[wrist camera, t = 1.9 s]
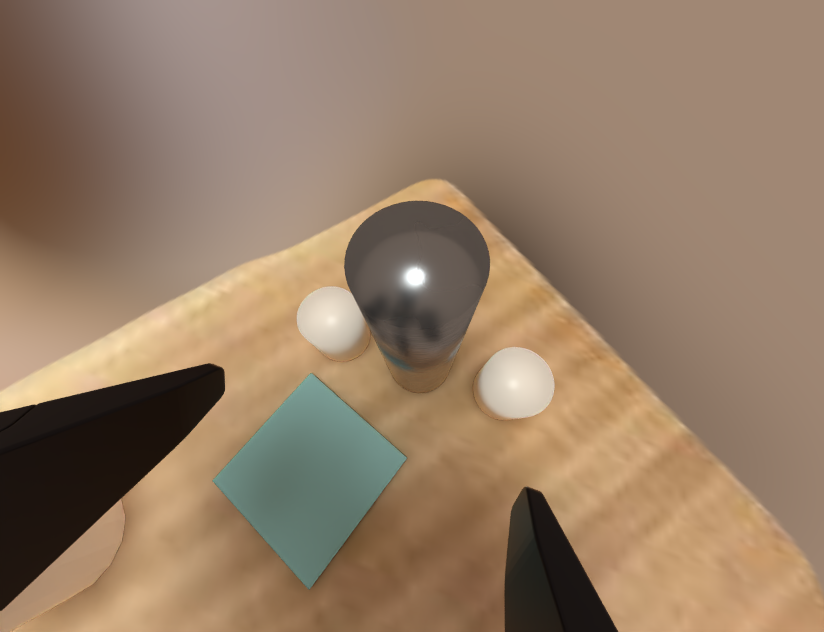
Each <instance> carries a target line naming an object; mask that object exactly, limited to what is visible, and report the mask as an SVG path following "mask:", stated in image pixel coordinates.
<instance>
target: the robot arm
mask: <svg viewBox="0 0 824 632" xmlns="http://www.w3.org/2000/svg"><path fill="white" fill-rule="evenodd" d="M224 392H225V374H224V369H223V368H222V367H220V366H217V365H214V364H211V363H208V364H204V365H199V366H195V367H191V368H187V369H183V370H178V371H174V372H170V373H166V374H161V375H157V376H153V377H149V378H144V379H140V380H136V381H132V382H127V383H123V384H119V385H115V386H111V387H106V388H102V389H98V390H94V391H89V392H85V393H81V394H77V395H72V396H68V397H64V398H60V399H55V400H51V401H47V402H43V403H39V404H37V405H30V406H26V407H21V408H17V409H13V410H9V411H4V412H0V611H2V610H3V609H4V608H6V607H7V606H8V605H9V604H10V603H11V602H12V601H13V600H14V599H15V598H16V597H17V596H18V595H19V594H20V593H21V592H22V591H24V590H25V589H26V588H27V587H28V586H29V585H30V584H31V583H32V582H33V581H34V580H35V579H36V578H37V577H38V576H39V575H41V574H42V573H43V572H44V571H45V570H46V569H47V568H48V567H49V566H50V565H51V564H52V563H53V562H54V561H55V560H56V559H58V558H59V557H60V556H61V555H62V554H63V553H64V552H65V551H66V550H67V549H68V548H69V547H70V546H71V545H72V544H73V543H74V542H76V541H77V540H78V539H79V538H80V537H81V536H82V535H83V534H84V533H85V532H86V531H87V530H88V529H89V528H90V527H91V526H93V525H94V524H95V523H96V522H97V521H98V520H99V519H100V518H101V517H102V516H103V515H104V514H105V513H106V512H107V511H108V510H110V509H111V508H112V507H113V506H114V505H115V504H116V503H117V502H118V501H119V500H120V499H121V498H122V497H123V496H124V495H125V494H126V493H128V492H129V491H130V490H131V489H132V488H133V487H134V486H135V485H136V484H137V483H138V482H139V481H140V480H141V479H142V478H143V477H145V476H146V475H147V474H148V473H149V472H150V471H151V470H152V469H153V468H154V467H155V466H156V465H157V464H158V463H159V462H160V461H161V460H163V459H164V458H165V457H166V456H167V455H168V454H169V453H170V452H171V451H172V450H173V449H174V448H175V447H176V446H177V445H178V444H179V443H180V442H181V441H182V440H183V439H184V438H185V437H186V436H187V435H188V434H189V433H190V432H191V431H192V430H193V429H194V428H195V426H196V425H197V424H198V423H199V422H200V421H201V420H202V419H203V417H204V416H205V415H206V414H207V413H208V412H209V411H210V410H211V408H212V407H213V406H214V405H215V404H216V403H217V402H218V401H219V399H220V398H221V397H222V396H223V394H224ZM505 632H618V630H617V629H616V627H615V625H614V623H613V621H612V619H611V618H610V616H609V614H608V612H607V610H606V608H605V607H604V605H603V603H602V601H601V599H600V598H599V596H598V594H597V592H596V590H595V588H594V587H593V585H592V583H591V581H590V579H589V577H588V576H587V574H586V572H585V570H584V568H583V567H582V565H581V563H580V561H579V559H578V557H577V556H576V554H575V552H574V550H573V548H572V546H571V545H570V543H569V541H568V539H567V537H566V536H565V534H564V532H563V530H562V528H561V526H560V525H559V523H558V521H557V519H556V517H555V515H554V514H553V512H552V510H551V508H550V506H549V505H548V503H547V501H546V499H545V497H544V495H543V494H542V493H541V492H540V491H538V490H535V489H533V488H530V487H524V488H523V489H522V491H521V492H520V494H519V496H518V498H517V499H516V501H515V503H514V505H513V507H512V510H511V516H510V527H509V538H508V548H507V559H506V569H505Z"/></svg>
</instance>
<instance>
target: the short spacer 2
mask: <svg viewBox="0 0 824 632" xmlns="http://www.w3.org/2000/svg"><path fill="white" fill-rule="evenodd" d="M473 394H474V398H475V401H476V403H477V404H478V406H479V407H480V409H481V410H482V411H483V412H484V413H485V414H487V415H488V416H490V417H492V418H494V419H498V420H512V419H518V418H525V417H530V416H534V415H536V414H538V413H540V412H542V411H543V410H544V409H545V408H546V407H547V406H548V405H549V403H550V401H551V399H552V397H553V394H554V378H553V375H552V372H551V370H550V368H549V366H548V365H547V363H546V362H545V361H544V360H543V359H542V358H541V357H540V356H539V355H538V354H536V353H534V352H533V351H531V350H528V349H525V348H521V347H509V348H505V349H502V350H500V351H498V352H497V353H495V354H494V355H493V356H492V357H491V358H490V359H489V360H488V362H487V363H486V364H485V365H484V366H483V368H482V369H481V370H480V371H479V372H478V374H477V375H476V377H475V380H474V383H473Z"/></svg>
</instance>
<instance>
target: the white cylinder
mask: <svg viewBox="0 0 824 632" xmlns="http://www.w3.org/2000/svg"><path fill="white" fill-rule="evenodd" d="M125 519H126V518H125V513H124V509H123V505H122V500H121V499H120V500H119V501H118V502H117V503H116V504H115V505H114V506H113V507H112V508H111V509H110V510H108V511H107V512H106V513H105V514H104V515H103V516H102V517H101V518H100V519H99V520H98V521H97V522H96V523H95V524H94V525H93V526H91V527H90V528H89V529H88V530H87V531H86V532H85V533H84V534H83V535H82V536H81V537H80V538H79V539H78V540H77V541H76V542H74V543H73V544H72V545H71V546H70V547H69V548H68V549H67V550H66V551H65V552H64V553H63V554H62V555H61V556H60V557H59V558H58V559H56V560H55V561H54V562H53V563H52V564H51V565H50V566H49V567H48V568H47V569H46V570H45V571H44V572H43V573H42V574H41V575H39V576H38V577H37V578H36V579H35V580H34V581H33V582H32V583H31V584H30V585H29V586H28V587H27V588H26V589H25V590H24V591H22V592H21V593H20V594H19V595H18V596H17V597H16V598H15V599H14V600H13V601H12V602H11V603H10V604H9V605H8V606H7V607H6V608H4V609H3V610H2V611H0V632H11V631H12V630H14V629H16V628H18V627H19V626H21V625H23V624H25V623H27V622H28V621H30V620H32V619H34V618H36V617H37V616H39V615H41V614H43V613H44V612H46V611H48V610H50V609H52V608H53V607H55V606H57V605H59V604H61V603H62V602H64V601H66V600H68V599H70V598H71V597H73V596H75V595H76V594H78V593H80V592H81V591H83V590H84V589H86V588H88V587H89V586H91V585H93V584H94V583H95V582H96V581H97V579H98V578H99V577H100V576H101V575H102V574H103V573H104V571H105V570H106V569H107V568H108V567H109V566H110V565H111V563H112V561H113V559H114V557H115V555H116V553H117V551H118V549H119V546H120V544H121V542H122V539H123V532H124V526H125Z"/></svg>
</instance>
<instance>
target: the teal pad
mask: <svg viewBox="0 0 824 632" xmlns="http://www.w3.org/2000/svg"><path fill="white" fill-rule="evenodd" d="M406 459H407V457H406V456H405V455H404V454H402V453H401V452H400V451H399V450H398V449H397V448H396V447H395V446H393V445H392V444H391V443H390V442H389V441H388V440H387V439H386V438H384V437H383V436H382V435H381V434H380V433H379V432H378V431H377V430H375V429H374V428H373V427H372V426H371V425H370V424H369V423H368V422H366V421H365V420H364V419H363V418H362V417H361V416H360V415H358V414H357V413H356V412H355V411H354V410H353V409H352V408H351V407H349V406H348V405H347V404H346V403H345V402H344V401H343V400H342V399H340V398H339V397H338V396H337V395H336V394H335V393H334V392H333V391H331V390H330V389H329V388H328V387H327V386H326V385H325V384H324V383H322V382H321V381H320V380H319V379H318V378H317V377H316V376H315V375H313V374H312V373H310V374H309V375H308V376H307V378H306V379H305V380H304V381H303V382H302V383H301V384H300V385H299V386H298V387H297V389H296V390H295V391H294V392H293V393H292V394H291V395H290V396H289V397H288V398H287V399H286V401H285V402H284V403H283V404H282V405H281V406H280V407H279V408H278V409H277V410H276V412H275V413H274V414H273V415H272V416H271V417H270V418H269V419H268V420H267V421H266V422H265V424H264V425H263V426H262V427H261V428H260V429H259V430H258V431H257V432H256V433H255V435H254V436H253V437H252V438H251V439H250V440H249V441H248V442H247V443H246V444H245V445H244V447H243V448H242V449H241V450H240V451H239V452H238V453H237V454H236V455H235V456H234V458H233V459H232V460H231V461H230V462H229V463H228V464H227V465H226V466H225V467H224V468H223V470H222V471H221V472H220V473H219V474H218V475H217V476H216V477H215V478H214V479H213V482H214V483H215V484H216V485H217V487H218V488H219V489H220V490H221V491H222V492H223V493H224V494H225V496H226V497H227V498H228V499H229V500H230V501H231V502H232V504H233V505H234V506H235V507H236V508H237V509H238V510H239V511H240V513H241V514H242V515H243V516H244V517H245V518H246V519H247V520H248V522H249V523H250V524H251V525H252V526H253V527H254V528H255V530H256V531H257V532H258V533H259V534H260V535H261V536H262V537H263V539H264V540H265V541H266V542H267V543H268V544H269V545H270V546H271V548H272V549H273V550H274V551H275V552H276V553H277V554H278V556H279V557H280V558H281V559H282V560H283V561H284V562H285V563H286V565H287V566H288V567H289V568H290V569H291V570H292V571H293V572H294V574H295V575H296V576H297V577H298V578H299V579H300V580H301V582H302V583H303V584H304V585H305V586H306V587H307V588H308V589H310V588H311V587H312V585H313V584H314V583H315V581H316V580H317V579H318V577H319V576H320V575H321V573H322V572H323V571H324V569H325V568H326V567H327V565H328V564H329V563H330V561H331V560H332V558H333V557H334V556H335V554H336V553H337V552H338V550H339V549H340V548H341V546H342V545H343V544H344V542H345V541H346V540H347V538H348V537H349V536H350V534H351V533H352V532H353V530H354V529H355V527H356V526H357V525H358V523H359V522H360V521H361V519H362V518H363V517H364V515H365V514H366V513H367V511H368V510H369V509H370V507H371V506H372V505H373V503H374V502H375V501H376V499H377V498H378V496H379V495H380V494H381V492H382V491H383V490H384V488H385V487H386V486H387V484H388V483H389V482H390V480H391V479H392V478H393V476H394V475H395V474H396V472H397V471H398V470H399V468H400V467H401V465H402V464H403V463H404V461H405V460H406Z"/></svg>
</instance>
